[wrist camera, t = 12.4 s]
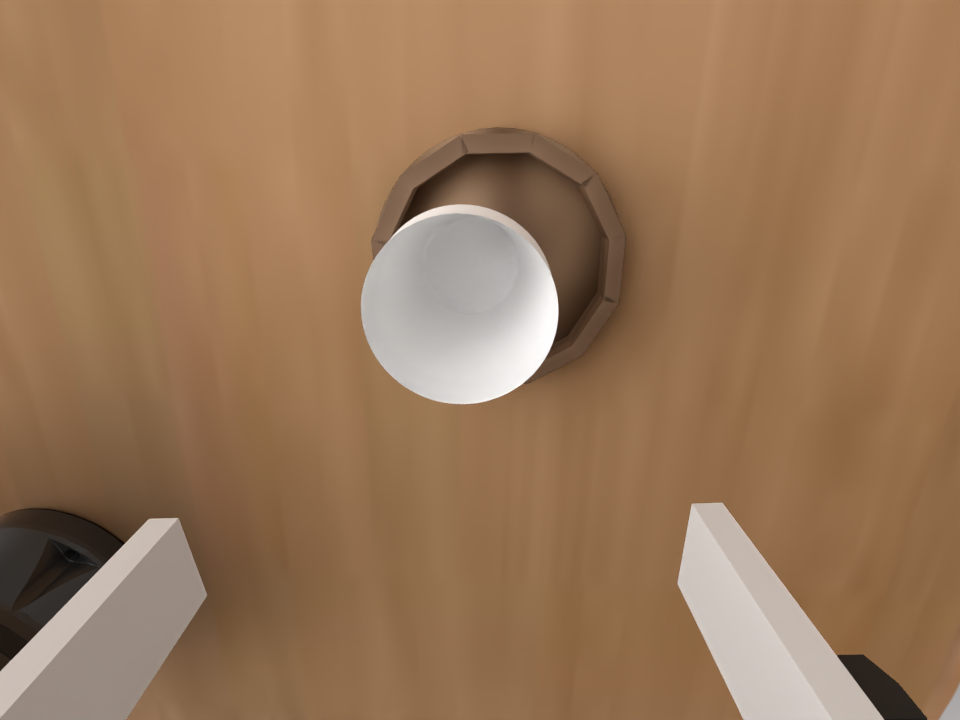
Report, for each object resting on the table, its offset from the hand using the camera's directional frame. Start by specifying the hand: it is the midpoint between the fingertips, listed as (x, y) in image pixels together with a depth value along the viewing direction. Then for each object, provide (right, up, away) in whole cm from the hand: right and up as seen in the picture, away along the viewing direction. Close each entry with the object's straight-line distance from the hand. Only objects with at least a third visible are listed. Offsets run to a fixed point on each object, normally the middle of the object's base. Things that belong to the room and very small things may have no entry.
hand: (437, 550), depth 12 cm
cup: (0, +12, +19) cm, 22 cm away
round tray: (+2, +12, +20) cm, 23 cm away
